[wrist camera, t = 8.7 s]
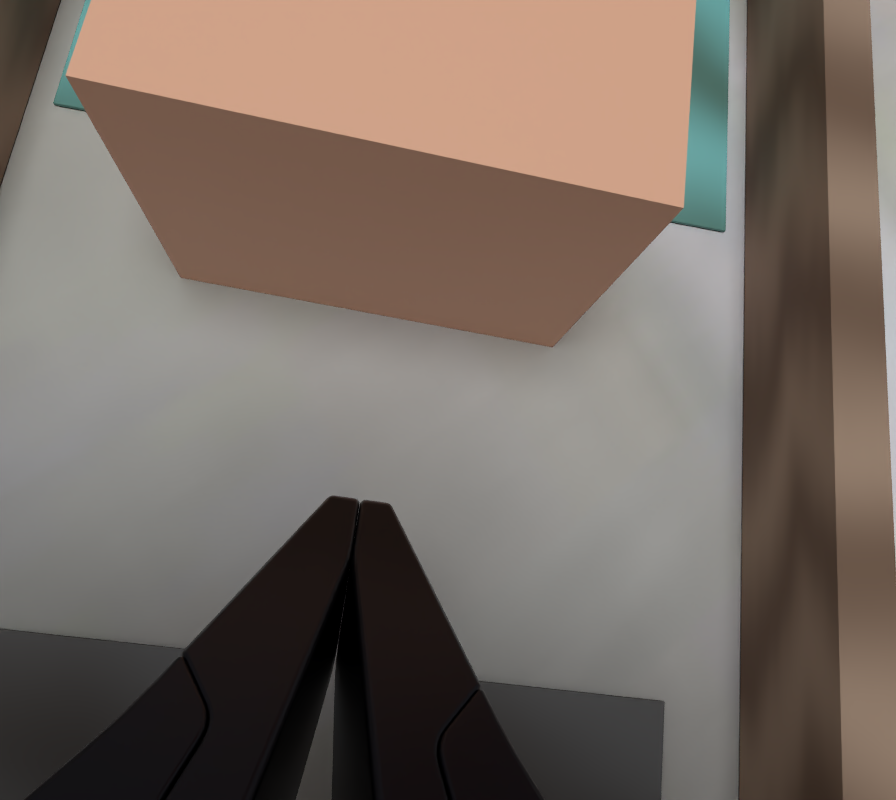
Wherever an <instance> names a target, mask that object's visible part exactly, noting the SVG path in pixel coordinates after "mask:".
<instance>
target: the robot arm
mask: <svg viewBox="0 0 896 800" xmlns="http://www.w3.org/2000/svg"><path fill="white" fill-rule="evenodd" d="M358 511H359V513H358ZM357 517H358V519H357ZM356 524H357V525H356ZM355 531H356V532H355ZM354 537H355V538H354ZM347 582H348V583H347ZM345 595H346V596H345ZM344 601H345V602H344ZM343 607H344V609H343ZM342 614H343V615H342ZM341 620H342V622H341ZM340 626H341V628H340ZM339 633H340V635H339ZM338 639H339V641H338ZM337 645H338V649H337ZM336 650H337V657H336V670H335V697H334V735H333V773H332V800H545V799H544V797H543V796H542V794H541V792H540V791H539V789H538V787H537V786H536V784H535V783H534V781H533V779H532V778H531V776H530V775H529V773H528V771H527V770H526V768H525V766H524V765H523V763H522V762H521V760H520V758H519V757H518V755H517V754H516V752H515V750H514V748H513V746H512V744H511V742H510V741H509V739H508V737H507V735H506V733H505V731H504V729H503V728H502V726H501V724H500V722H499V720H498V718H497V716H496V714H495V712H494V710H493V708H492V706H491V704H490V702H489V700H488V698H487V696H486V694H485V692H484V691H483V690H480V688H481V685H480V683H479V681H478V679H477V677H476V675H475V673H474V671H473V669H472V667H471V665H470V663H469V660H468V658H467V656H466V654H465V652H464V650H463V648H462V646H461V644H460V642H459V640H458V638H457V636H456V634H455V632H454V630H453V628H452V626H451V624H450V622H449V620H448V618H447V616H446V614H445V612H444V610H443V608H442V606H441V604H440V602H439V600H438V598H437V596H436V594H435V592H434V590H433V588H432V586H431V584H430V582H429V580H428V578H427V576H426V574H425V572H424V570H423V568H422V566H421V564H420V562H419V560H418V558H417V556H416V554H415V552H414V550H413V548H412V546H411V544H410V542H409V540H408V538H407V536H406V534H405V532H404V530H403V528H402V526H401V524H400V522H399V520H398V518H397V516H396V514H395V512H394V510H393V508H392V506H391V505H390V504H388V503H384V502H377V501H369V500H364V501H362V502H361V503H360V506H359V501H358V500H357V499H355V498H348V497H341V496H330V497H328V498H327V499H326V500H325V501H324V502H323V503H322V504H321V505H320V506H319V507H318V509H317V510H316V511H315V512H314V513H313V514H312V515H311V516H310V517H309V518H308V519H307V520H306V521H305V522H304V523H303V524H302V526H301V527H300V528H299V529H298V530H297V531H296V532H295V533H294V534H293V535H292V536H291V537H290V538H289V539H288V540H287V541H286V542H285V544H284V545H283V546H282V547H281V548H280V549H279V550H278V551H277V552H276V553H275V554H274V555H273V556H272V557H271V558H270V559H269V561H268V562H267V563H266V564H265V565H264V566H263V567H262V568H261V569H260V570H259V571H258V572H257V573H256V574H255V575H254V576H253V578H252V579H251V580H250V581H249V582H248V583H247V584H246V585H245V586H244V587H243V588H242V589H241V590H240V591H239V592H238V593H237V594H236V596H235V597H234V598H233V599H232V600H231V601H230V602H229V603H228V604H227V605H226V606H225V607H224V608H223V609H222V610H221V611H220V613H219V614H218V615H217V616H216V617H215V618H214V619H213V620H212V621H211V622H210V623H209V624H208V625H207V626H206V627H205V628H204V629H203V631H202V632H201V633H200V634H199V635H198V636H197V637H196V638H195V639H194V640H193V641H192V642H191V643H190V644H189V645H188V646H187V648H186V649H185V650H184V651H183V652H182V656H179V657H177V658H176V659H175V660H174V661H173V662H172V663H171V664H170V665H169V666H168V667H167V668H166V669H165V670H164V672H163V673H162V674H161V675H160V676H159V677H158V678H157V679H156V680H155V681H154V682H153V683H152V684H151V685H150V686H149V687H148V688H147V689H146V690H145V691H144V692H143V693H142V694H141V695H140V696H139V697H138V698H137V699H136V700H135V701H134V702H133V703H132V704H131V705H130V706H129V707H128V708H127V709H126V710H125V711H124V712H123V713H122V714H121V715H120V716H119V717H118V718H116V719H115V720H114V721H113V722H112V723H111V724H110V725H109V726H107V727H106V728H105V729H104V730H103V731H102V732H101V733H100V734H99V735H97V736H96V737H95V738H94V739H93V740H92V741H91V742H90V743H88V744H87V745H86V746H85V747H84V748H83V749H82V750H81V751H79V752H78V753H77V754H76V755H75V756H74V757H72V758H71V759H70V760H69V761H68V762H67V763H65V764H64V765H63V766H62V767H61V768H60V769H58V770H57V771H56V772H55V773H54V774H52V775H51V776H50V777H49V778H48V779H47V780H45V781H44V782H43V783H42V784H41V785H40V786H38V787H37V788H36V789H35V790H34V791H33V792H31V793H30V794H29V795H28V796H27V797H26V798H24V799H23V800H296V796H297V793H298V789H299V786H300V782H301V779H302V775H303V772H304V768H305V765H306V761H307V758H308V754H309V751H310V747H311V744H312V740H313V737H314V733H315V730H316V726H317V723H318V719H319V716H320V712H321V709H322V705H323V702H324V698H325V695H326V691H327V688H328V684H329V681H330V677H331V673H332V669H333V665H334V661H335V656H336Z"/></svg>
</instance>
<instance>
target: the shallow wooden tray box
mask: <svg viewBox="0 0 896 800" xmlns="http://www.w3.org/2000/svg"><path fill="white" fill-rule="evenodd" d="M90 2H91V0H85V3H84V7H83V10H82V13H81V16H80V19H79V23H78V26H77V29H76V32H75V35H74V39H73V42H72V45H71V48H70V51H69V54H68V58H67V61H66V64H65V67H64V70H63V74H62V77H61V80H60V83H59V86H58V89H57V93H56V96H55V99H54V102H53V103H54V105H57V106H63V107H68V108H73V109H78V110H84V111H85V109H84V107H83V105H82V104H81V102H80V100H79V98H78V97H77V95H76V93H75V91H74V90H73V88H72V86H71V84H70V83H69V81H68V79H67V77H66V76H65V75H66V72H67V69H68V66H69V63H70V60H71V58H72V55H73V52H74V49H75V46H76V43H77V40H78V37H79V34H80V31H81V28H82V25H83V22H84V19H85V16H86V13H87V11H88V8H89V5H90ZM59 3H60V0H0V184H1V181H2V178H3V175H4V172H5V169H6V166H7V163H8V160H9V157H10V154H11V151H12V148H13V145H14V141H15V138H16V135H17V132H18V129H19V126H20V123H21V120H22V117H23V114H24V111H25V108H26V105H27V101H28V98H29V95H30V92H31V89H32V86H33V83H34V80H35V77H36V74H37V71H38V68H39V65H40V62H41V58H42V55H43V52H44V49H45V46H46V43H47V40H48V37H49V34H50V31H51V28H52V25H53V22H54V19H55V15H56V12H57V9H58V6H59ZM729 12H730V0H696V12H695V29H694V46H693V62H692V79H691V96H690V112H689V129H688V146H687V162H686V179H685V196H684V208H683V209H682V210H681V211H680V212H679V214H678V215H677V216H676V217H675V218H674V219H673V220H672V221H671V222H673V223H679V224H684V225H689V226H694V227H700V228H705V229H710V230H716V231H721V232H724V231H725V227H726V173H727V119H728V66H729ZM184 650H185V649H180V648H171V647H162V646H153V645H144V644H135V643H125V642H116V641H107V640H98V639H89V638H80V637H70V636H61V635H52V634H43V633H34V632H25V631H15V630H6V629H0V800H23V799H24V798H26V797H27V796H28V795H29V794H30V793H31V792H33V791H34V790H35V789H36V788H37V787H38V786H40V785H41V784H42V783H43V782H44V781H45V780H47V779H48V778H49V777H50V776H51V775H52V774H54V773H55V772H56V771H57V770H58V769H60V768H61V767H62V766H63V765H64V764H65V763H67V762H68V761H69V760H70V759H71V758H72V757H74V756H75V755H76V754H77V753H78V752H79V751H81V750H82V749H83V748H84V747H85V746H86V745H87V744H88V743H90V742H91V741H92V740H93V739H94V738H95V737H96V736H97V735H99V734H100V733H101V732H102V731H103V730H104V729H105V728H106V727H107V726H109V725H110V724H111V723H112V722H113V721H114V720H115V719H116V718H118V717H119V716H120V715H121V714H122V713H123V712H124V711H125V710H126V709H127V708H128V707H129V706H130V705H131V704H132V703H133V702H134V701H135V700H136V699H137V698H138V697H139V696H140V695H141V694H142V693H143V692H144V691H145V690H146V689H147V688H148V687H149V686H150V685H151V684H152V683H153V682H154V681H155V680H156V679H157V678H158V677H159V676H160V675H161V674H162V673H163V672H164V670H165V669H166V668H167V667H168V666H169V665H170V664H171V663H172V662H173V661H174V660H175V659H176V658H177V657H179V656H182V652H183V651H184ZM479 683H480V685H481V688H480V690H483V691H484V692H485V694H486V696H487V698H488V700H489V702H490V704H491V706H492V708H493V710H494V712H495V714H496V716H497V718H498V720H499V722H500V724H501V726H502V728H503V729H504V731H505V733H506V735H507V737H508V739H509V741H510V742H511V744H512V746H513V748H514V750H515V752H516V754H517V755H518V757H519V758H520V760H521V762H522V763H523V765H524V766H525V768H526V770H527V771H528V773H529V775H530V776H531V778H532V779H533V781H534V783H535V784H536V786H537V787H538V789H539V791H540V792H541V794H542V796H543V797H544V799H545V800H661V781H662V754H663V727H664V701H657V700H648V699H639V698H630V697H621V696H612V695H602V694H593V693H584V692H575V691H566V690H557V689H547V688H538V687H529V686H520V685H511V684H501V683H492V682H483V681H479ZM739 800H896V567H895V545H894V523H893V501H892V479H891V457H890V435H889V413H888V391H887V369H886V347H885V325H884V304H883V282H882V260H881V238H880V216H879V194H878V172H877V150H876V128H875V106H874V84H873V62H872V40H871V18H870V0H748V13H747V109H746V205H745V302H744V398H743V494H742V590H741V687H740V783H739Z"/></svg>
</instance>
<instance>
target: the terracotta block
mask: <svg viewBox="0 0 896 800" xmlns="http://www.w3.org/2000/svg"><path fill="white" fill-rule="evenodd" d="M695 12H696V0H91V2H90V5H89V8H88V11H87V13H86V16H85V19H84V22H83V25H82V28H81V31H80V34H79V37H78V40H77V43H76V46H75V49H74V52H73V55H72V58H71V60H70V63H69V66H68V69H67V72H66V75H65V76H66V77H67V79H68V81H69V83H70V84H71V86H72V88H73V90H74V91H75V93H76V95H77V97H78V98H79V100H80V102H81V104H82V105H83V107H84V109H85V111H86V112H87V114H88V116H89V118H90V119H91V121H92V123H93V125H94V126H95V128H96V130H97V132H98V133H99V135H100V137H101V139H102V140H103V142H104V144H105V146H106V147H107V149H108V151H109V153H110V154H111V156H112V158H113V160H114V161H115V163H116V165H117V167H118V168H119V170H120V172H121V174H122V175H123V177H124V179H125V181H126V182H127V184H128V186H129V188H130V190H131V191H132V193H133V195H134V197H135V198H136V200H137V202H138V204H139V205H140V207H141V209H142V211H143V212H144V214H145V216H146V218H147V219H148V221H149V223H150V225H151V226H152V228H153V230H154V232H155V233H156V235H157V237H158V239H159V240H160V242H161V244H162V246H163V247H164V249H165V251H166V253H167V254H168V256H169V258H170V260H171V261H172V263H173V265H174V267H175V268H176V270H177V272H178V274H179V275H180V277H181V278H185V279H191V280H196V281H201V282H207V283H212V284H217V285H223V286H228V287H233V288H239V289H244V290H249V291H255V292H260V293H265V294H271V295H276V296H282V297H287V298H292V299H298V300H303V301H308V302H314V303H319V304H324V305H330V306H335V307H340V308H346V309H351V310H356V311H362V312H367V313H372V314H378V315H383V316H388V317H394V318H399V319H405V320H410V321H415V322H421V323H426V324H431V325H437V326H442V327H447V328H453V329H458V330H463V331H469V332H474V333H479V334H485V335H490V336H495V337H501V338H506V339H511V340H517V341H522V342H528V343H533V344H538V345H544V346H549V347H553V346H554V345H555V344H556V343H557V342H558V341H559V340H560V339H561V338H562V337H563V336H564V334H565V333H566V332H567V331H568V330H569V329H570V328H571V327H572V326H573V325H574V324H575V323H576V322H577V321H578V320H579V319H580V318H581V316H582V315H583V314H584V313H585V312H586V311H587V310H588V309H589V308H590V307H591V306H592V305H593V304H594V303H595V302H596V301H597V299H598V298H599V297H600V296H601V295H602V294H603V293H604V292H605V291H606V290H607V289H608V288H609V287H610V286H611V285H612V284H613V282H614V281H615V280H616V279H617V278H618V277H619V276H620V275H621V274H622V273H623V272H624V271H625V270H626V269H627V268H628V267H629V266H630V264H631V263H632V262H633V261H634V260H635V259H636V258H637V257H638V256H639V255H640V254H641V253H642V252H643V251H644V250H645V249H646V247H647V246H648V245H649V244H650V243H651V242H652V241H653V240H654V239H655V238H656V237H657V236H658V235H659V234H660V233H661V232H662V230H663V229H664V228H665V227H666V226H667V225H668V224H669V223H670V222H671V221H672V220H673V219H674V218H675V217H676V216H677V215H678V214H679V212H680V211H681V210H682V209H683V208H684V196H685V179H686V162H687V146H688V129H689V112H690V96H691V79H692V62H693V46H694V29H695Z"/></svg>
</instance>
